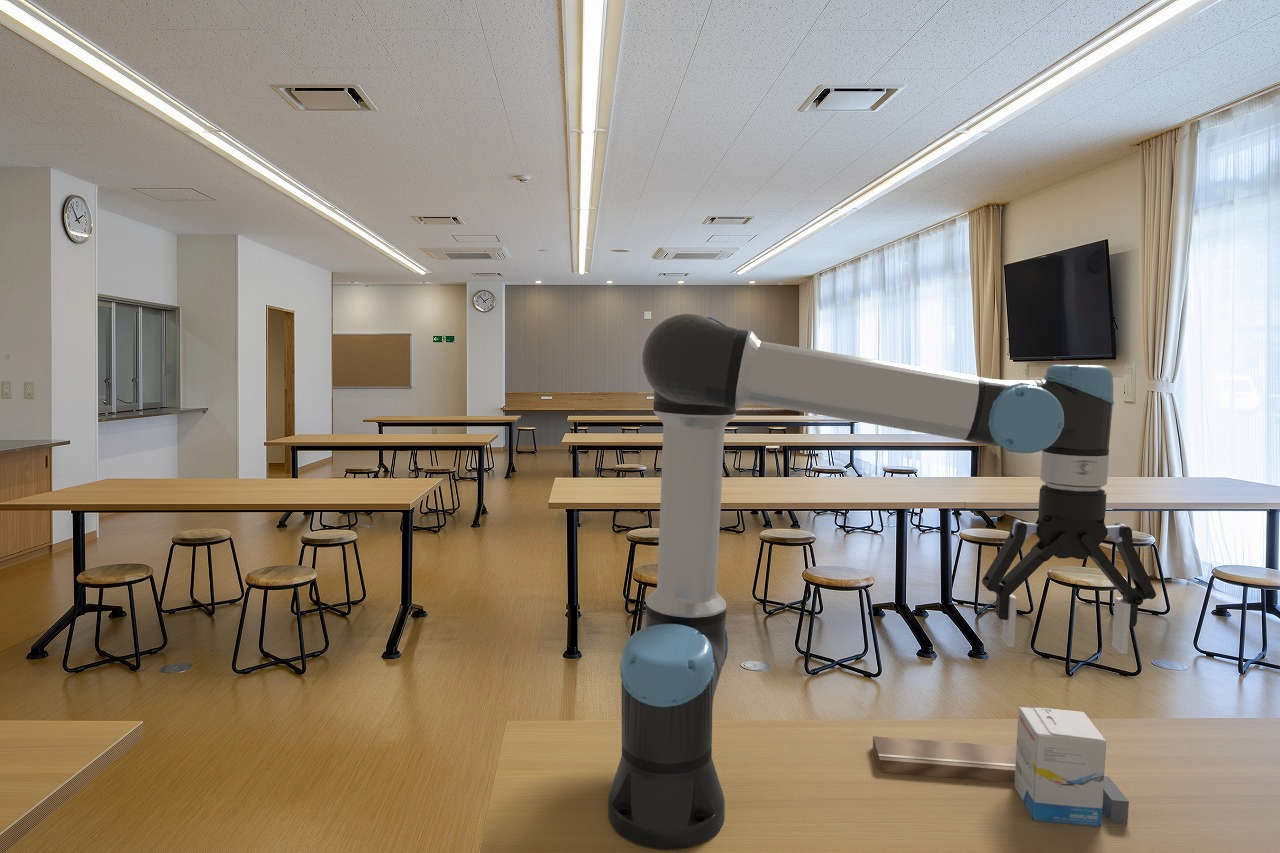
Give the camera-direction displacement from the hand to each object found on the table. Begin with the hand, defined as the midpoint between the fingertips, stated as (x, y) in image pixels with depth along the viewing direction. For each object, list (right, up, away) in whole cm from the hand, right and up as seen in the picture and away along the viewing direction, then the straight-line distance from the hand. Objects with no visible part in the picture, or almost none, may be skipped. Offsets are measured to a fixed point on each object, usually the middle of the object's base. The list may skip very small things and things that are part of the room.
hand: (1063, 646), depth 103 cm
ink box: (0, -22, +2) cm, 22 cm away
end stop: (+7, -22, +1) cm, 23 cm away
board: (-7, -21, +12) cm, 25 cm away
